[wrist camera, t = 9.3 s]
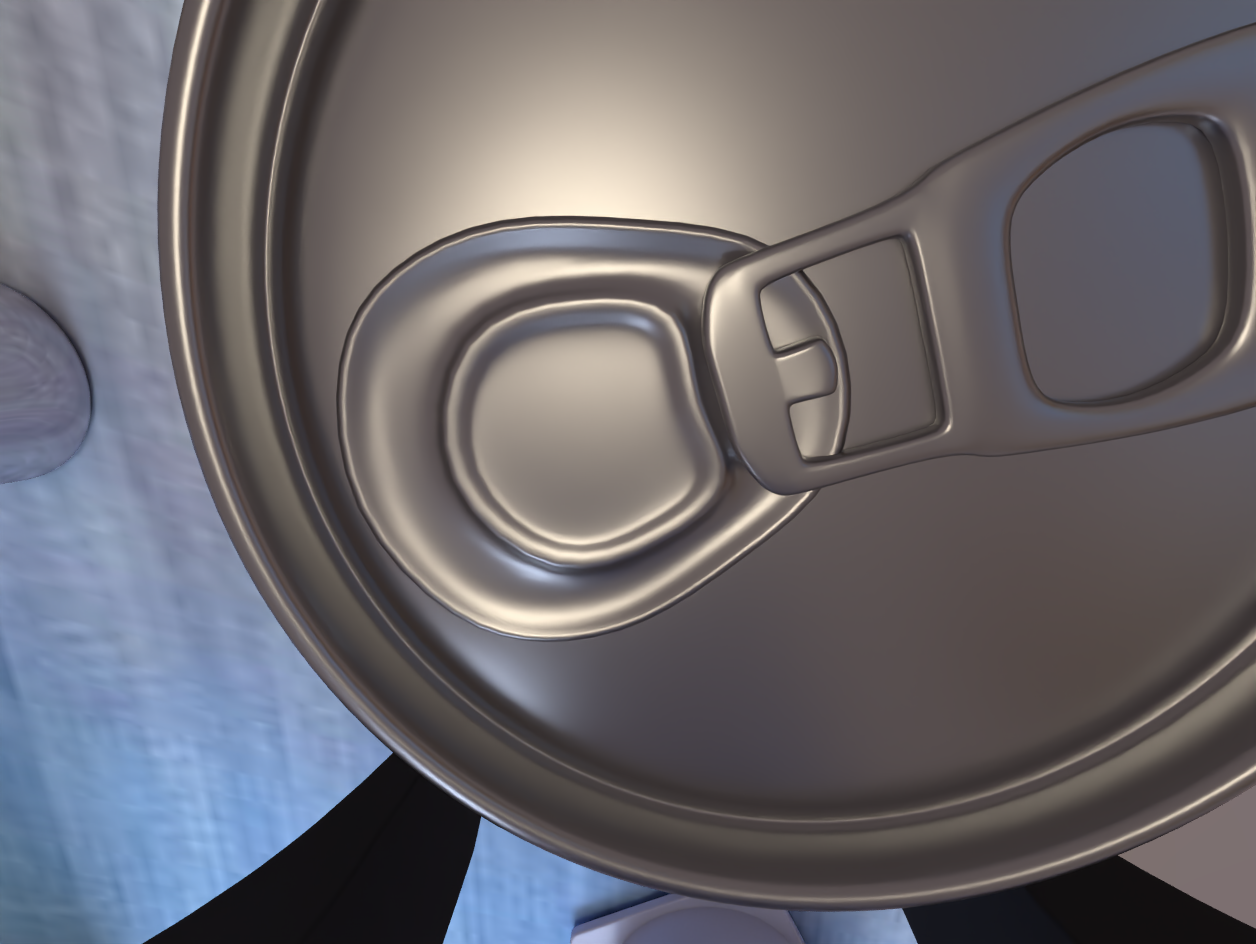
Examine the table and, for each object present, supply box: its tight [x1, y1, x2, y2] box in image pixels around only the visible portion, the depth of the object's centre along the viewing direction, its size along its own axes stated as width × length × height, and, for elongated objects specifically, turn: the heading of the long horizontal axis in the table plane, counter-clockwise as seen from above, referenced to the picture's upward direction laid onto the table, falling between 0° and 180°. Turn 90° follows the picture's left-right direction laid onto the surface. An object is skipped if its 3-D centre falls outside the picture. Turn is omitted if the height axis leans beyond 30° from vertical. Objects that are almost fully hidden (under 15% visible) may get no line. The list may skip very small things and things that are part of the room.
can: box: [157, 0, 1256, 912], centre depth 8 cm, size 6×6×12 cm
